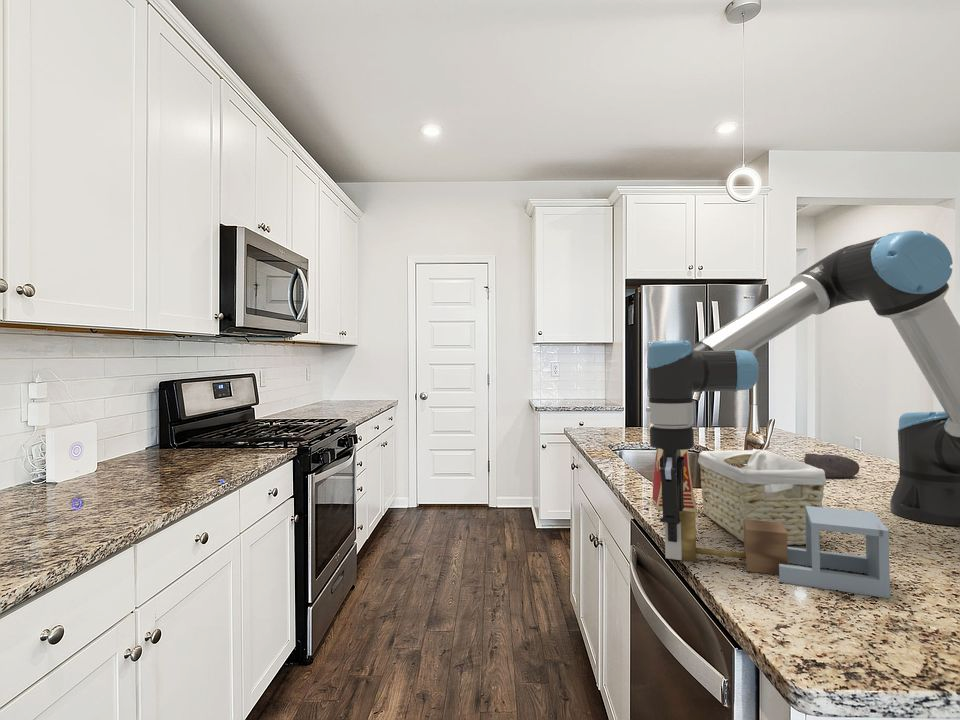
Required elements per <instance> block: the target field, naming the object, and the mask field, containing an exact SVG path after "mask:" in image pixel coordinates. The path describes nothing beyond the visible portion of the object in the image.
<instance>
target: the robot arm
mask: <svg viewBox="0 0 960 720" xmlns="http://www.w3.org/2000/svg"><path fill="white" fill-rule="evenodd" d="M952 257H953V256H952V255H951V252H950V250H949V248H948V247H947V245H946V244H945V242H943V241H942V240H941V239H940V238H938V237H937V236H935V234H932V233H929V232H927V231H921V230H907V231H901V232H892V233H888V234H886V235H884V236H880V237H877V238H872V239H869V240H866V241H862V242H859V243H855V244H854V243H853V244H851V245H847V246H844V247H841V248H840V249H838V250H836V251H833V252H832V253H830V254H828V255H827V256H825V257H824V258H822V259H819V261H817V262H815V263H814V264H812V265H811V266H809V267H808V268H806V269H805V270H803V271H802V272H800V273H798V274H797V275H795V276H794V277H792V278H791V280H790V283H789V285H788V286H787V287H785V288H783V289H782V290H780V291H778V292H777V293H775V294H774V295H772V296H770V297H769V298H766V299H765V300H764V301H762V302H761V303H759V304H757V305H756V306H754V307H752V308H750V309H749V310H747V311H746V312H744V313H742V314H741V315H739V316H738V317H736V318H734V319H733V320H731V321H729V322H728V323H726V324H724V325H723V326H722V327H719V329H717V330H714V331H713V332H712V333H710V334H709V335H707V336H705V337H703V338H702V339H700V340H699V341H697V342H696V343H693V344H692V343H691V342H690V341H689V340H660V341H653V342H651V343H650V344H649V346H648V347H647V348H648V349H647V350H648V351H647V365H646V368H647V377H648V378H647V379H648V380H647V381H648V402H649V404H648V405H649V406H646V408H645V411H646V412H647V413H649V423H650V424H651V425H652V426H650V427H649V444H650V446H651V448H655V449H656V450H657V449H662V450H663V456H662V458H660V472H661V484H662V507H663V510H662V517H661V518H659V521H660V523H664V545H665V546H664V550H665V559H670V560H677V561H683V560H682V540H681V522H680V513H679V511H683V509H684V498H683V479H684V465H685V457H683V456H681V451H680V450H686V449H688V450H690V449H693V448H694V446H695V437H694V434H695V433H694V431H695V430H694V428H693V427H692V426H691V425H693V424H694V422H695V421H694V400H693V397H694V396H693V395H694V394H693V393H701V392H735V393H736V392H738V391H748V390H750V389H752V388H753V387H754V386H755V385H756V384H757V382H758V380H759V375H760V374H759V373H760V372H759V370H760V369H759V366H760V365H759V362H758V360H757V358H756V356H755V354H753V353H752V352H754V351H755V350H757V349H758V348H760V347H762V346H763V345H765V344H767V343H768V342H770V341H771V340H773V339H775V338H776V337H778V336H779V335H781V334H783V333H784V332H786V331H787V330H789V329H790V328H792V327H794V326H796V325H797V324H798V323H800V322H802V321H804V320H806V319H807V318H808V317H810V316H812V315H822V314H824V313H825V312H829V310H832V309H833V308H835V307H838V306H842V305H845V304H850V303H856V302H864V301H869V303H870V304H871V306H872V308H873V309H874V311H875V313H876V314H877V315H878V317H880V318H881V317H882V318H886V319H890V320H891V322H892V323H893V325H894V326H895V328H896V330H897V332H898V334H899V336H900V337H901V339H902V341H903V342H904V344H905V346H906V347H907V349H908V351H909V352H910V355H911V356H912V357H913V359H914V361H915V363H916V364H917V366H918V368H919V370H920V371H921V374H922V375H923V376H924V378H925V380H926V381H927V383H928V385H929V387H930V388H931V390H932V392H933V393H934V394H933V395H934V396H935V397H936V399H937V401H938V402H939V403H940V405H941V407H942V409H943V411H921V412H920V411H919V412H905V413H902V414H901V415H900V416H899V419H898V429H897V440H898V443H897V444H898V464H899V467H898V468H899V477H898V481H897V483H896V486H895V488H894V491H893V494H892V495H891V498H890V502H889V504H890V505H889V507H890V508H889V509H890V511H891V513H893V514H895V515H896V516H899V517H902V518H905V519H909V520H912V521H918V522H922V523H925V524H934V525H939V526H940V525H942V526H951V527H952V526H953V527H954V526H956V527H960V323H959V322H958V320H957V319H956V317H955V315H954V313H953V312H952V310H951V308H950V306H949V305H948V303H947V301H946V300H945V296H946V294H947V293H948V291H949V290H950V285H949V283H948V282H949V280H950V279H951V277H952V274H953V268H952V267H951V266H952V265H953V264H954V263H953V258H952Z"/></svg>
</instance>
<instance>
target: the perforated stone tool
mask: <svg viewBox="0 0 960 720" xmlns="http://www.w3.org/2000/svg"><path fill="white" fill-rule="evenodd" d="M804 456H805V457H804V458H803V460H804V462H803V463H805V464H808V465H811V466H814V467H816V468H819V469H823V470H824V472H825V478H826V479H847V478H852V477H855V476H856V475H858V473H859V472H860V464H859V463H858V462H857V461H855V460H854V459H852V458H850V457H846V456H844V455H843V456H842V455H837V454H827V453H825V454H819V453H805V454H804Z"/></svg>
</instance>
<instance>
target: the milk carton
mask: <svg viewBox="0 0 960 720" xmlns="http://www.w3.org/2000/svg"><path fill="white" fill-rule="evenodd" d="M680 451H681V456H683V457H685V465H684V479H683V498H684V509H683V511H690V512H693V513H698V508H697V507H698V506H697V503H696V498H695V494H694V489H693V483H692V476H691V469H690V458H689V449H686V450H680ZM662 456H663V450H662V449H657V448H656V452H655V458H654V471H653V480H652V497H651V498H652V499H651V500H652V503H653V504H654V505H655V510H656V511H663V507H662V484H661V472H660V458H662Z"/></svg>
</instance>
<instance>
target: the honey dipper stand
mask: <svg viewBox="0 0 960 720" xmlns="http://www.w3.org/2000/svg"><path fill="white" fill-rule="evenodd" d="M679 513H680V522H681V540H682V560H681V561H684V562H695V561H696V560H697V554H698V555H704V556H705V555H706V556H715V557H723V558H724V557H725V558H732V559H742V560H744V559H745V560H744V564H745V567H746V572H749V571H751V573H758V572H760V574H766V573H768V574H769V575H774V574H776V575H777V576H779V564H785V565H789V563H788V549H787V547H788V545H787V532H786V530H785V528H784V526H783V524H782V523H780V522H768V521H757V520H745V519H744V542H743V552H740V551H730V550H722V549H720V550H719V549H712V548H705V547H704V548H702V547H697V531H696V530H697V526H696V520H697V519H696V518H697V517H696V512H690V511H679ZM776 575H775V576H776Z"/></svg>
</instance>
